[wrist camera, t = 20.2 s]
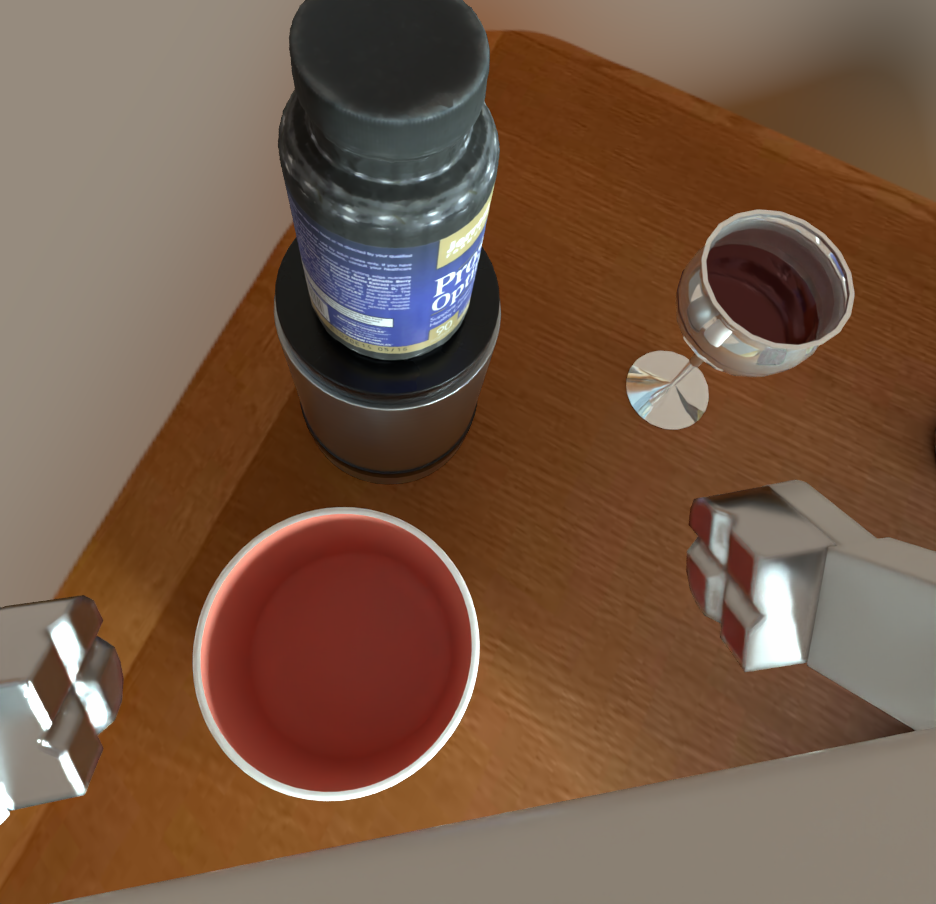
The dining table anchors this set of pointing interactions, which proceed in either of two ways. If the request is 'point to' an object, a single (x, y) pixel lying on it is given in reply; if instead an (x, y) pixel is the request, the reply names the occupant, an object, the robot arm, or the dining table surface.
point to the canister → (386, 384)
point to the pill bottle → (389, 167)
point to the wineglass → (745, 312)
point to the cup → (336, 653)
